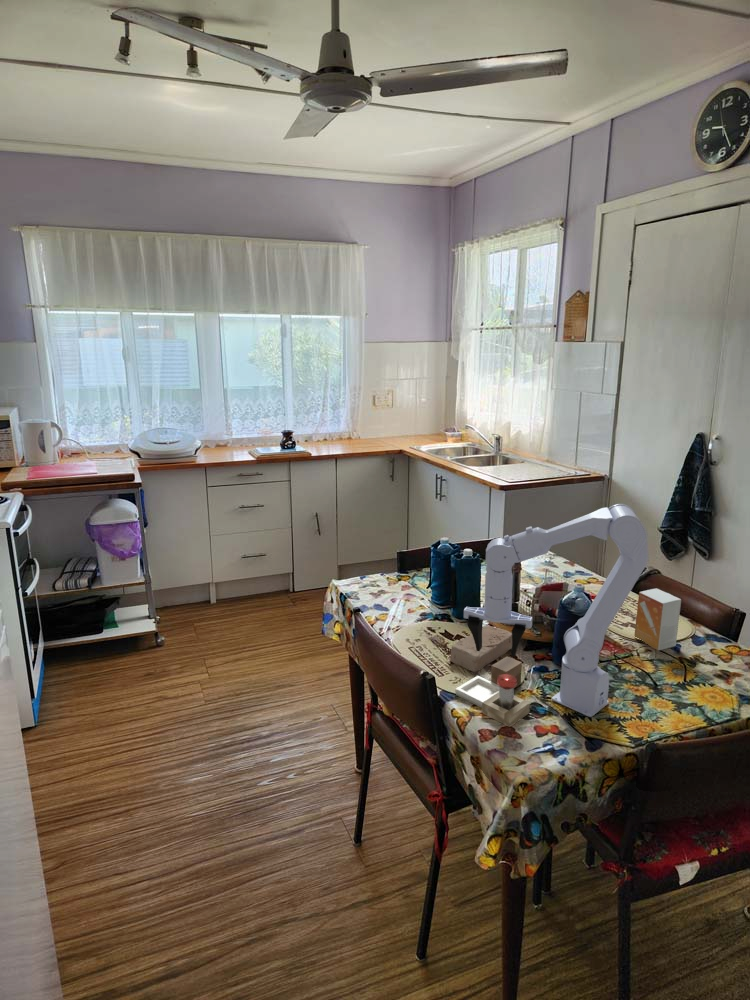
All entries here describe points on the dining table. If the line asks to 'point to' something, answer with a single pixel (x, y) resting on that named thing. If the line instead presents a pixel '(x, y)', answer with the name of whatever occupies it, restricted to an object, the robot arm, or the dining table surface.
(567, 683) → the robot arm
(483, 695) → the tray
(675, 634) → the small box
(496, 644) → the brick
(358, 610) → the dining table surface
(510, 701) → the pin
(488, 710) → the socket block
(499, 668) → the brown rectangular block
